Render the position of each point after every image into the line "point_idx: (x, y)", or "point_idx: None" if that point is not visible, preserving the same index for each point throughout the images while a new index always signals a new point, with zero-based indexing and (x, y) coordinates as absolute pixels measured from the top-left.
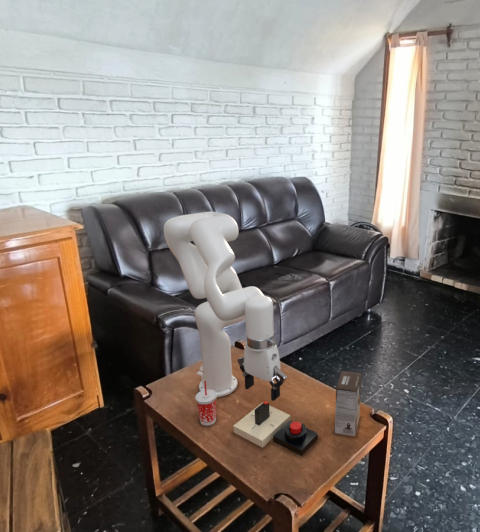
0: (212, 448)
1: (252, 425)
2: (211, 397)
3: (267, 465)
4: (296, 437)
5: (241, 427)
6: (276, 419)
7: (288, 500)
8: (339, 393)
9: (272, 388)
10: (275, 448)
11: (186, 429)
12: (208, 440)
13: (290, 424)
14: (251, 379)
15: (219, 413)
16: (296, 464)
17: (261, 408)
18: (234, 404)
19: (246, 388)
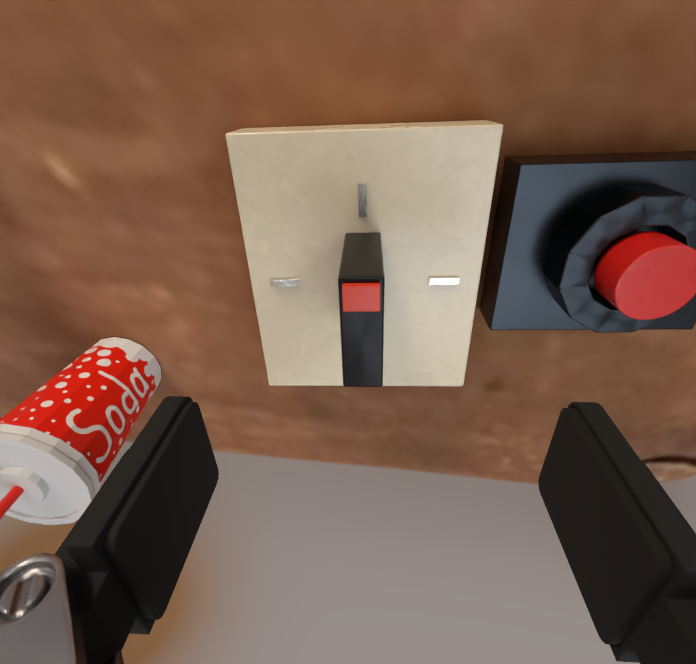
0: (285, 447)
1: None
2: (58, 477)
3: (528, 410)
4: (664, 318)
5: (311, 375)
6: (435, 225)
7: (673, 470)
8: None
9: (634, 653)
10: (512, 333)
11: None
12: (238, 431)
13: (615, 297)
14: (164, 507)
15: (109, 308)
16: (651, 353)
17: (377, 356)
18: (83, 208)
19: (209, 490)
